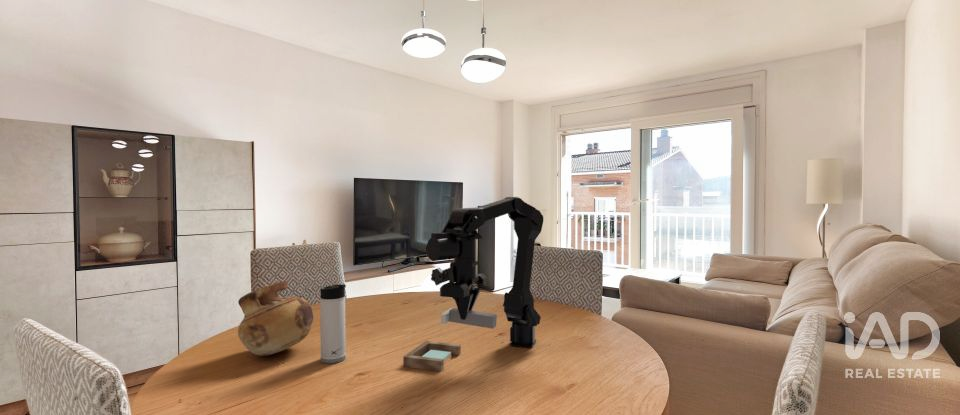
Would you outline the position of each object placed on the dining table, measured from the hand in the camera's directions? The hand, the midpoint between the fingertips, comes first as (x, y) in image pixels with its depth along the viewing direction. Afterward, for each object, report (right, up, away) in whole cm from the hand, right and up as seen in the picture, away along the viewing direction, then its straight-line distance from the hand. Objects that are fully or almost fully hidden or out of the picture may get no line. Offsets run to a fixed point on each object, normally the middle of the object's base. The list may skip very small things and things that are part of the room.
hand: (465, 318), depth 110 cm
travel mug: (-35, -12, +4) cm, 37 cm away
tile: (-8, -12, +3) cm, 15 cm away
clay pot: (-52, -12, +9) cm, 55 cm away
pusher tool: (+2, -1, -1) cm, 2 cm away
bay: (-9, -12, +3) cm, 15 cm away
